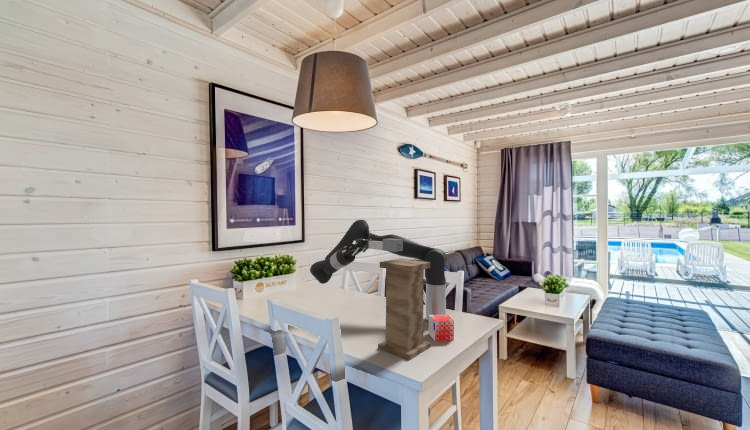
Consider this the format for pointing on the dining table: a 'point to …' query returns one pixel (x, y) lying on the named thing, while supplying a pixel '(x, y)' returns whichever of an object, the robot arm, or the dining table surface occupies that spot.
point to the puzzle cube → (441, 327)
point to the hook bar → (384, 244)
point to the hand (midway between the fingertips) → (368, 240)
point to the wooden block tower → (404, 307)
